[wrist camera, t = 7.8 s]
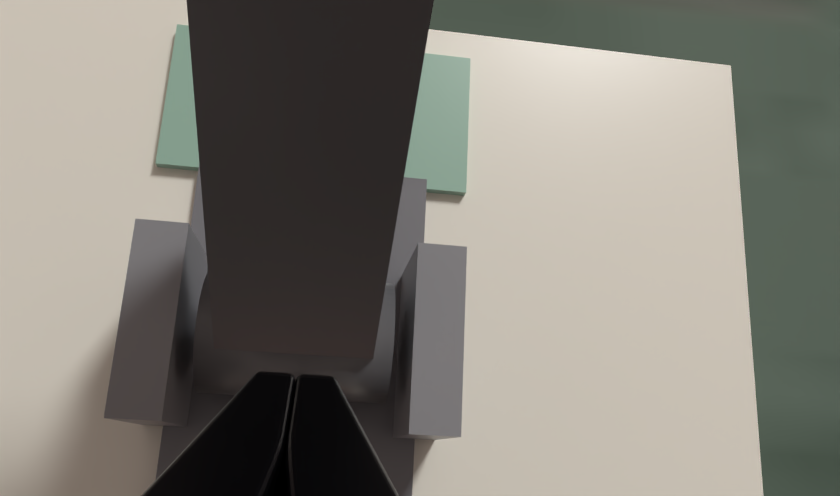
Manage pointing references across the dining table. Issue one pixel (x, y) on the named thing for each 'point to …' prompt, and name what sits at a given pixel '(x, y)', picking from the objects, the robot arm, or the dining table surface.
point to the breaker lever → (302, 184)
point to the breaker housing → (408, 268)
